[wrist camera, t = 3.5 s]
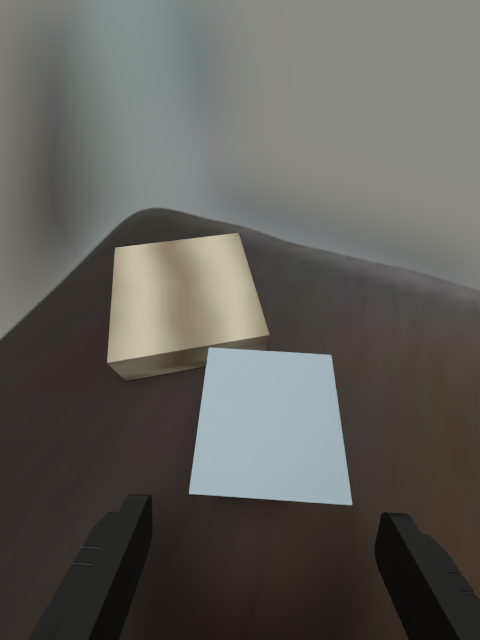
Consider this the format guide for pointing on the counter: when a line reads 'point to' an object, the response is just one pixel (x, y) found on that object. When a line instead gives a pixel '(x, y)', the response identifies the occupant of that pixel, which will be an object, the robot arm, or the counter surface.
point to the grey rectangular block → (270, 428)
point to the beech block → (181, 305)
